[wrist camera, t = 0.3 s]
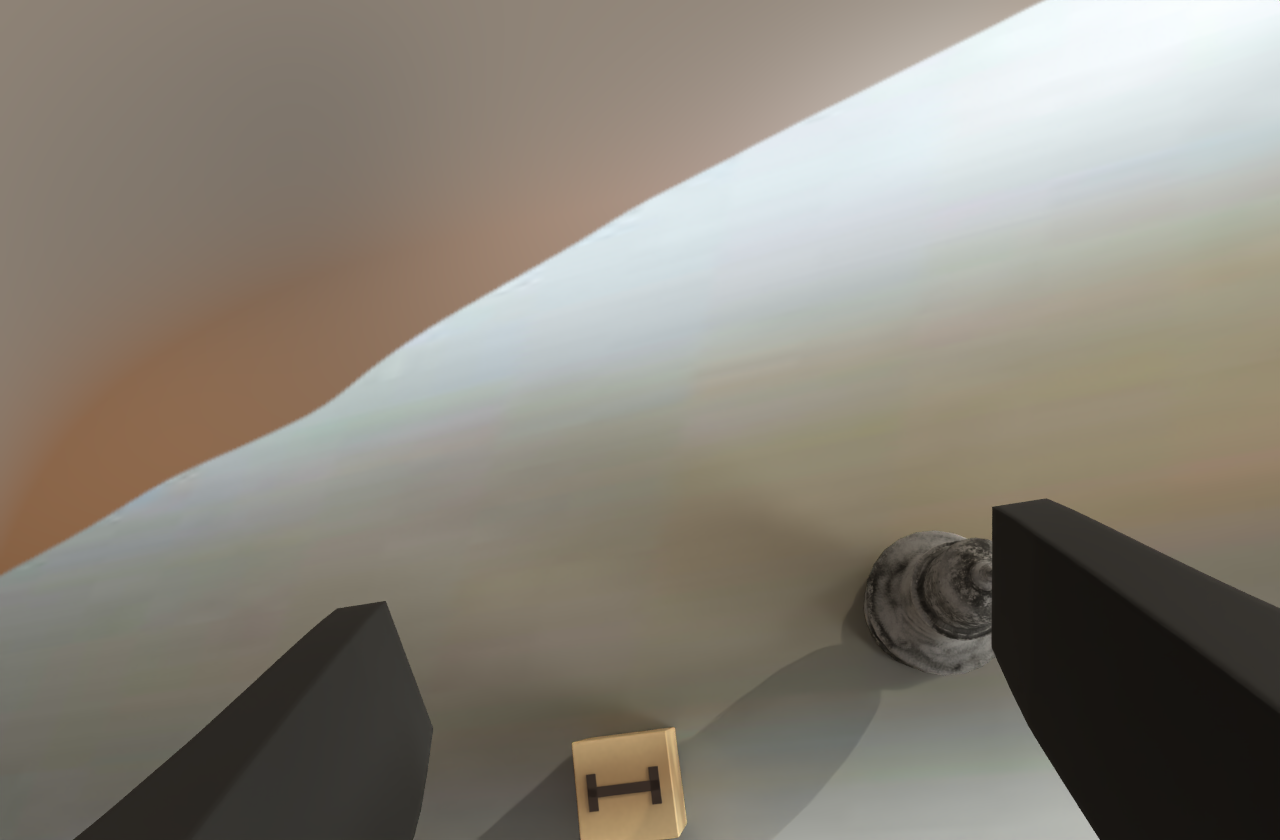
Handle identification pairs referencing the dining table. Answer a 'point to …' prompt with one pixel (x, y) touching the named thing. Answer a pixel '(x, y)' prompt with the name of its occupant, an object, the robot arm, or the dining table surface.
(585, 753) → the tile
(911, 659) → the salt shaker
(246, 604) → the dining table surface
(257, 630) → the dining table surface
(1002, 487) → the dining table surface
